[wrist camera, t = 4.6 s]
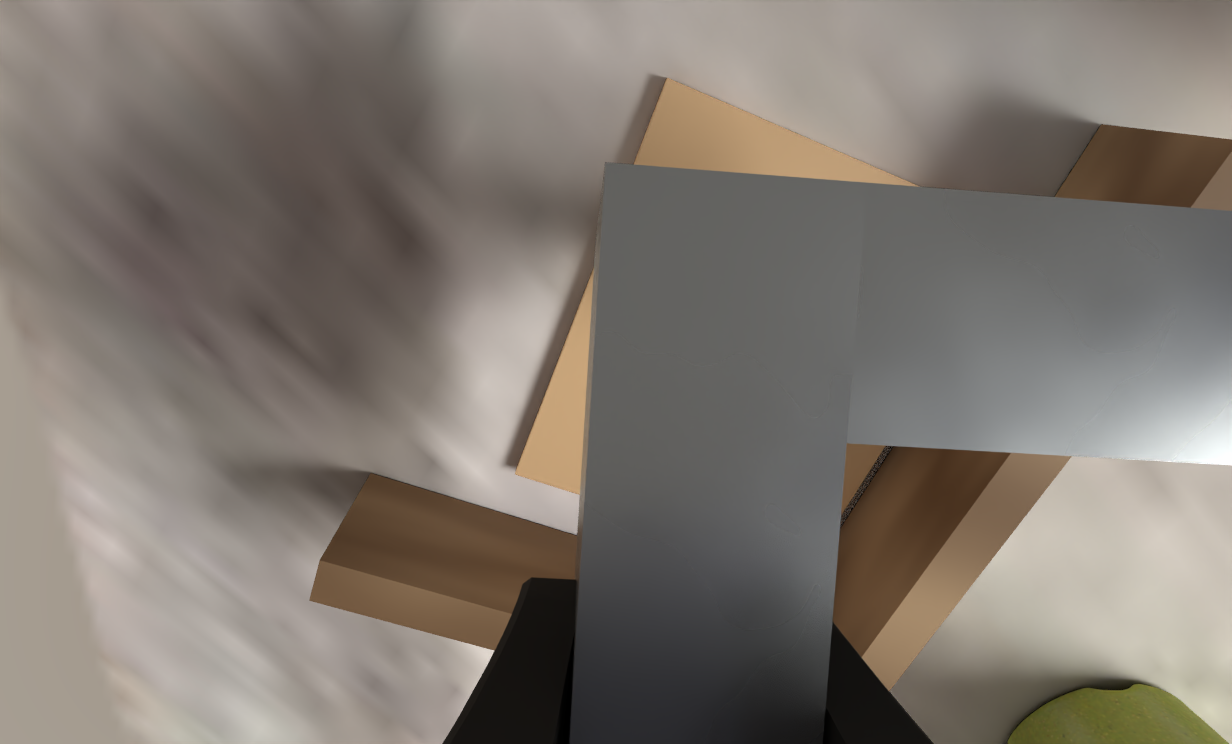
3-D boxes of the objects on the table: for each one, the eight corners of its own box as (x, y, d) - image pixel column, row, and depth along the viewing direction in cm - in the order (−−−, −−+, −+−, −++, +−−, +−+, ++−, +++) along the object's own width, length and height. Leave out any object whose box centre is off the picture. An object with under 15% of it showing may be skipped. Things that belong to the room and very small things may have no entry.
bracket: (595, 242, 11) (604, 163, 6) (973, 269, 11) (1281, 215, 6) (566, 717, 11) (552, 1014, 6) (934, 730, 12) (1194, 1021, 7)
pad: (666, 77, 14) (667, 78, 13) (1015, 227, 15) (1022, 231, 15) (516, 468, 18) (514, 474, 17) (805, 559, 19) (808, 566, 19)
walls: (543, -140, 12) (521, -210, 9) (1162, 153, 14) (1313, 176, 11) (360, 508, 18) (309, 600, 15) (822, 644, 20) (860, 749, 17)
